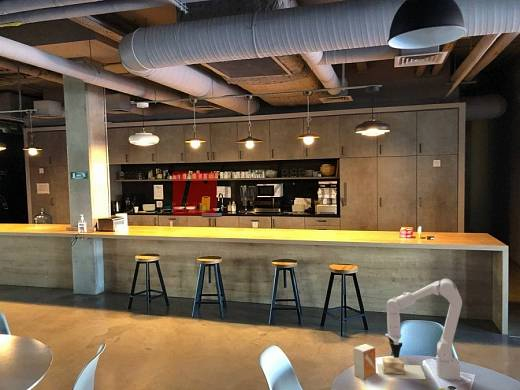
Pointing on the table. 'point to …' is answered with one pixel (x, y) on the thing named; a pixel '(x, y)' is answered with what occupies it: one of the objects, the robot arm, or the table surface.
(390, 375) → the board
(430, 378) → the table surface
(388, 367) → the block
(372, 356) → the small box
